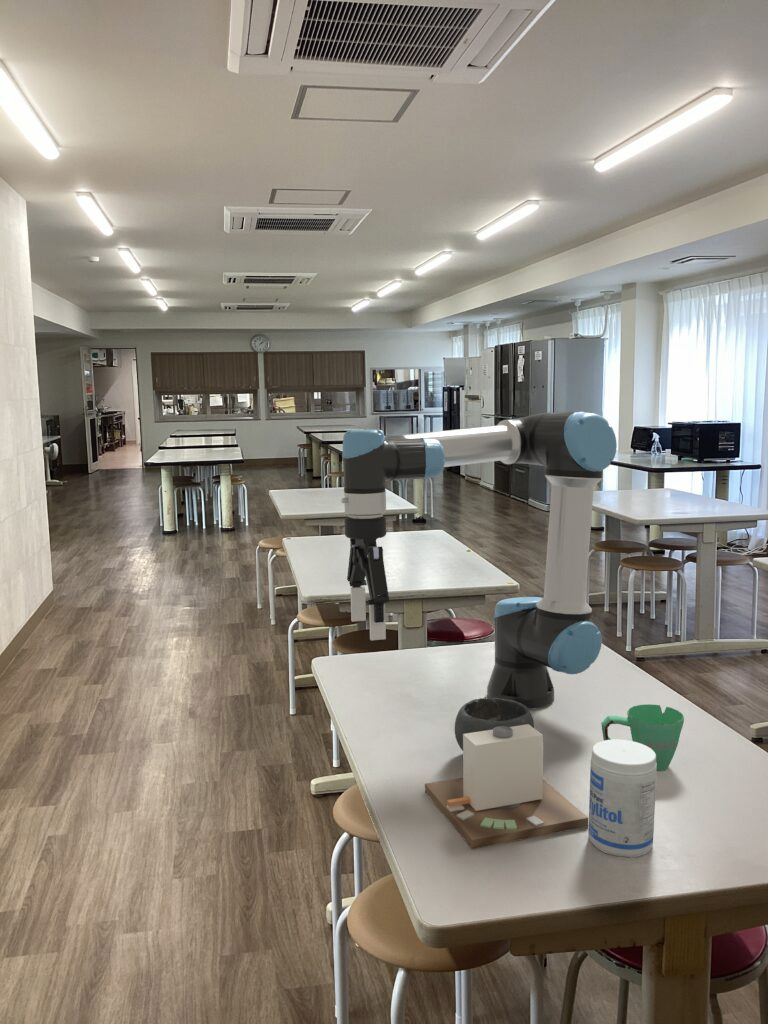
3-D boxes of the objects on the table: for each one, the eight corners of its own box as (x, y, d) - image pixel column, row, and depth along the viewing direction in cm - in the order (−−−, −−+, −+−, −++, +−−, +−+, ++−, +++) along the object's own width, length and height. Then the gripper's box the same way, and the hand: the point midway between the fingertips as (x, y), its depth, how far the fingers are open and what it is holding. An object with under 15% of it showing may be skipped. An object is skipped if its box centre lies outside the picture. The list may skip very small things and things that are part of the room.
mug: (672, 754, 157) (673, 703, 156) (690, 777, 148) (691, 723, 146) (594, 755, 158) (595, 704, 157) (607, 778, 148) (608, 724, 147)
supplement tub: (577, 845, 126) (578, 752, 124) (605, 821, 133) (606, 733, 131) (638, 867, 119) (641, 770, 118) (664, 840, 127) (666, 748, 125)
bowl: (440, 751, 161) (440, 702, 159) (507, 738, 166) (507, 690, 165) (479, 783, 147) (479, 728, 146) (549, 767, 153) (550, 715, 152)
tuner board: (528, 774, 150) (528, 765, 150) (588, 826, 131) (588, 816, 131) (425, 791, 144) (424, 782, 144) (472, 849, 125) (472, 838, 125)
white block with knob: (528, 785, 142) (528, 719, 140) (542, 798, 137) (542, 730, 135) (442, 800, 137) (441, 732, 135) (453, 814, 132) (453, 744, 131)
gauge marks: (514, 795, 139) (514, 793, 139) (544, 824, 129) (544, 822, 129) (446, 807, 135) (446, 805, 135) (473, 838, 125) (473, 836, 125)
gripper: (330, 508, 161) (333, 615, 164) (362, 525, 137) (365, 650, 140) (367, 506, 163) (369, 612, 166) (405, 523, 139) (408, 645, 142)
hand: (367, 629), depth 153 cm, fingers open, 13 cm apart
